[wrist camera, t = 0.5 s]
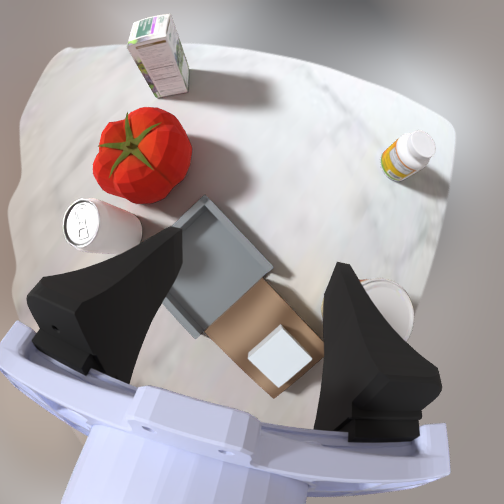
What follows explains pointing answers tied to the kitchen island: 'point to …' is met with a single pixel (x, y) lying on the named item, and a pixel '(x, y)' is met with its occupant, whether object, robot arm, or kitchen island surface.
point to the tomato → (142, 156)
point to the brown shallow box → (262, 332)
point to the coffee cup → (391, 304)
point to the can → (101, 227)
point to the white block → (279, 356)
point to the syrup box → (159, 55)
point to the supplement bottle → (407, 155)
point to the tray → (211, 267)
